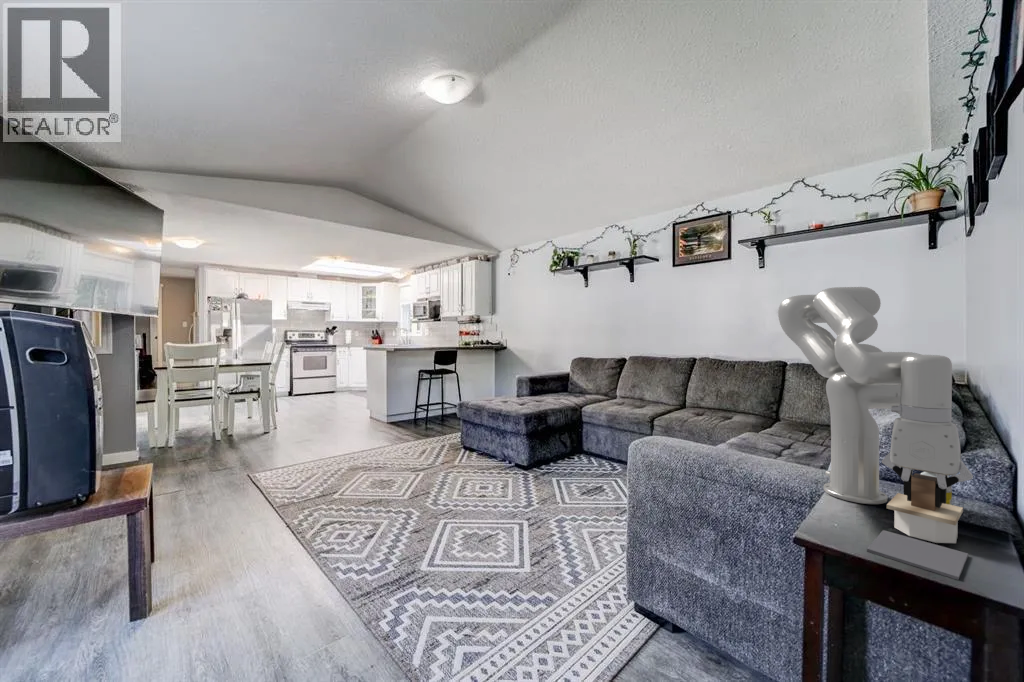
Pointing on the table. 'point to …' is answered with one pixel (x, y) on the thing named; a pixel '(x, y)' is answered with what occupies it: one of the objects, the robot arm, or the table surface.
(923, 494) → the lid
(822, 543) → the table surface
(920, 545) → the mat
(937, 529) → the bowl
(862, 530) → the table surface
